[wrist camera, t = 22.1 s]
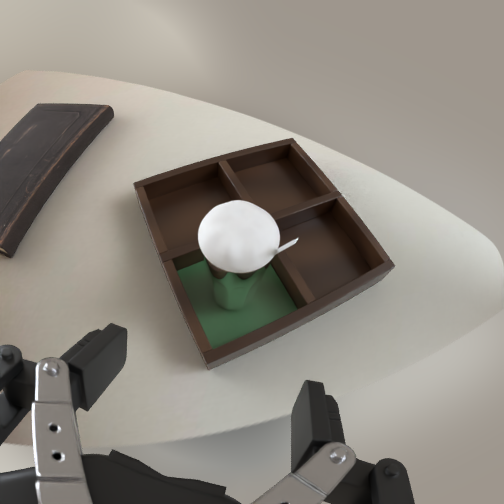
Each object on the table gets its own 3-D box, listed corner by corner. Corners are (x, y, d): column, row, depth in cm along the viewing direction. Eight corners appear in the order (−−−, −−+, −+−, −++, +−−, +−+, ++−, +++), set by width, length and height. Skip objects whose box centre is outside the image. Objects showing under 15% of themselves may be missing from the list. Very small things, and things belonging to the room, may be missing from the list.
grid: (381, 280, 27) (395, 265, 24) (208, 370, 21) (207, 364, 19) (287, 156, 34) (292, 137, 31) (138, 202, 28) (133, 182, 26)
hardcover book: (-48, 226, 24) (-56, 216, 22) (41, 114, 36) (37, 103, 34) (13, 259, 23) (2, 248, 21) (115, 118, 35) (112, 105, 33)
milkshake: (253, 335, 22) (276, 276, 14) (192, 300, 23) (177, 224, 14) (280, 287, 24) (314, 210, 16) (223, 257, 25) (227, 168, 17)
